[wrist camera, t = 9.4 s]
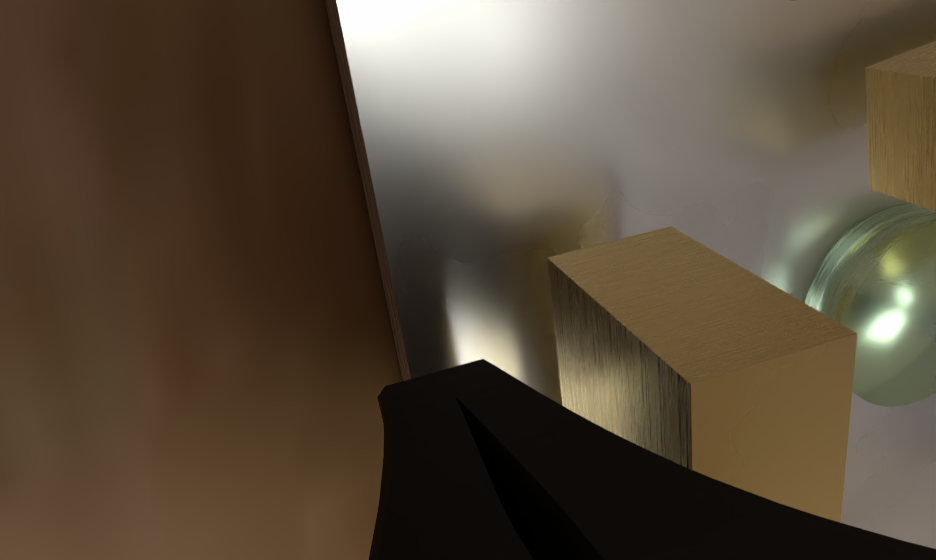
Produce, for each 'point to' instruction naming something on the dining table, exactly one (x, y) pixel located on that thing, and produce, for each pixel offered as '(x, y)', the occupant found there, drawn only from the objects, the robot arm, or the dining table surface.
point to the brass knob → (706, 366)
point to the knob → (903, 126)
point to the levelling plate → (648, 184)
